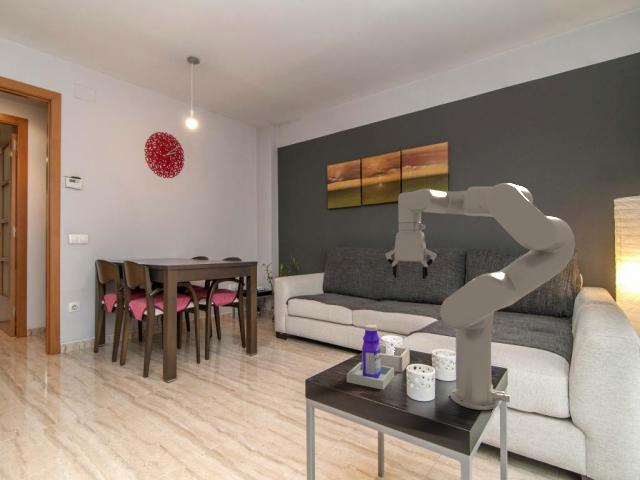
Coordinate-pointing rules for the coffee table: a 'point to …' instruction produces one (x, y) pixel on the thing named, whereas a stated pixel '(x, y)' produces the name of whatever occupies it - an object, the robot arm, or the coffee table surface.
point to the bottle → (371, 352)
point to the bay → (395, 358)
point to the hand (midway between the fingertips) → (410, 278)
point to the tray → (379, 383)
